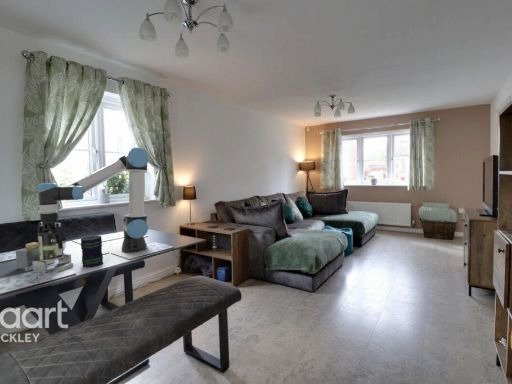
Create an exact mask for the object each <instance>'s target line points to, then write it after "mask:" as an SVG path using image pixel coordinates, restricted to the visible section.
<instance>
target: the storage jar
mask: <svg viewBox="0 0 512 384" xmlns="http://www.w3.org/2000/svg"><path fill="white" fill-rule="evenodd" d="M80 246H81V247H80V249H81V264H82V268H85V269H86V268H87V269H90V268H96V267H100V266H101V265H103V264H104V255H103V249H102V247H103V241H102V236H101V235H89V236H84V237H82V238H80Z"/></svg>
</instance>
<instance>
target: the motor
mask: <svg viewBox="0 0 512 384" xmlns="http://www.w3.org/2000/svg"><path fill="white" fill-rule="evenodd" d="M63 255H64V257H63V258H60V259H57V261H58V264H60V265H61V266H58V267H56V272H57V271H60V272H63V271H65V270H67V269H71V268H73V267H74V262H72V254H71V253H63ZM15 259H16V260H15V261H16V270H21V269H22V271H24V272H29V271H32V272H33V273H38V272H41V273H40V274H47V273H48V265H50V264H53V263H56V262H55V261H56V260H53V261H40V252H39V242H36V241H33V242H29V243H26V244H25V247H24V248H21V249H16V250H15ZM62 270H63V271H62ZM46 272H47V273H46Z"/></svg>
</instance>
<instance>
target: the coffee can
mask: <svg viewBox="0 0 512 384" xmlns="http://www.w3.org/2000/svg"><path fill="white" fill-rule="evenodd" d="M55 235H58V234H57V233H52V232H51V231H50V230H49V232H45V233H42V232H40V233H38V238H39V240H38V243H39V252H40V261H53V260H55V261H56V260H57V261H58V259H60V258H63V257H64V255H63V254H64V251H63V248H62V253H63V254H61V255H58V256H57V255H56V242H57V241H56V239H55ZM62 246H63V242H62Z"/></svg>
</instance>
